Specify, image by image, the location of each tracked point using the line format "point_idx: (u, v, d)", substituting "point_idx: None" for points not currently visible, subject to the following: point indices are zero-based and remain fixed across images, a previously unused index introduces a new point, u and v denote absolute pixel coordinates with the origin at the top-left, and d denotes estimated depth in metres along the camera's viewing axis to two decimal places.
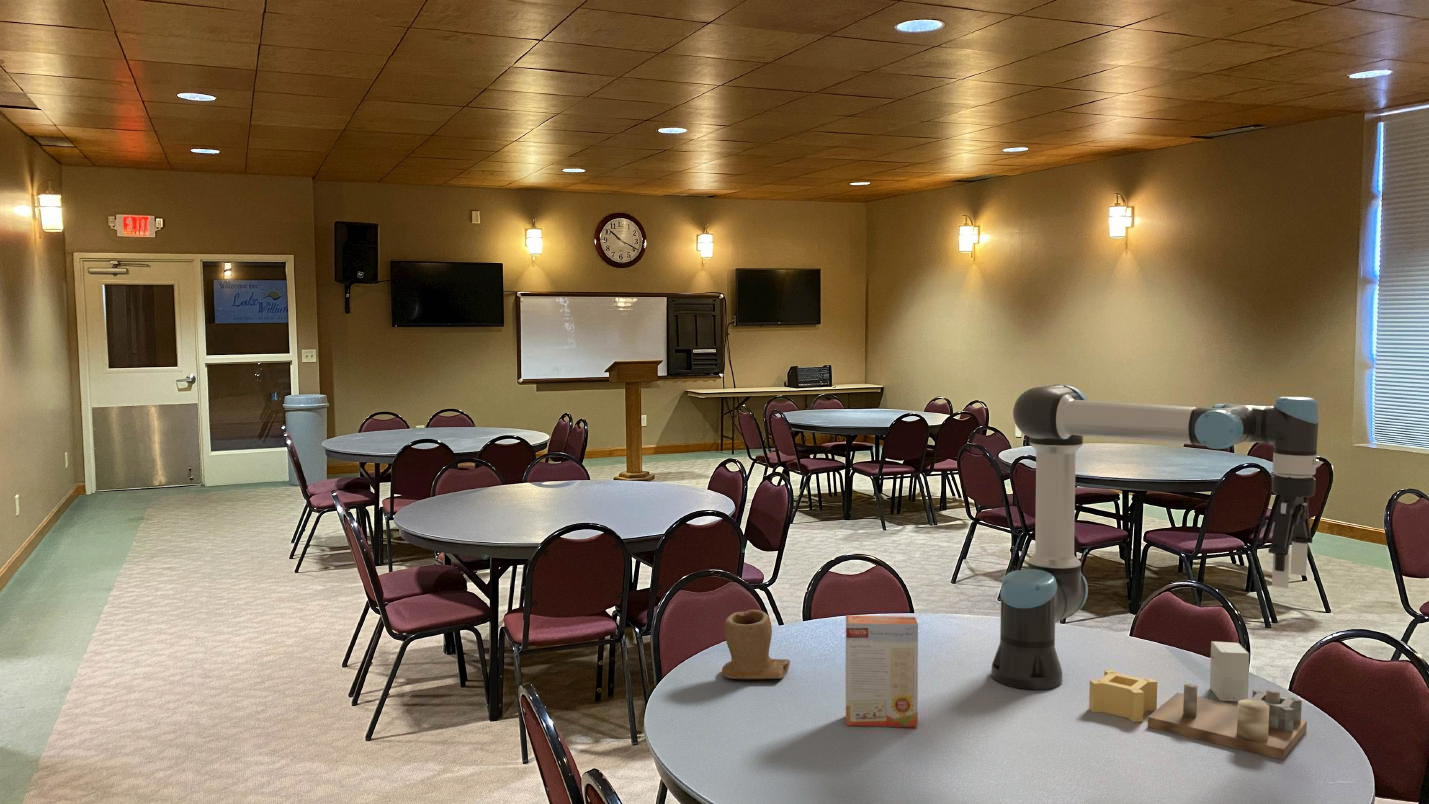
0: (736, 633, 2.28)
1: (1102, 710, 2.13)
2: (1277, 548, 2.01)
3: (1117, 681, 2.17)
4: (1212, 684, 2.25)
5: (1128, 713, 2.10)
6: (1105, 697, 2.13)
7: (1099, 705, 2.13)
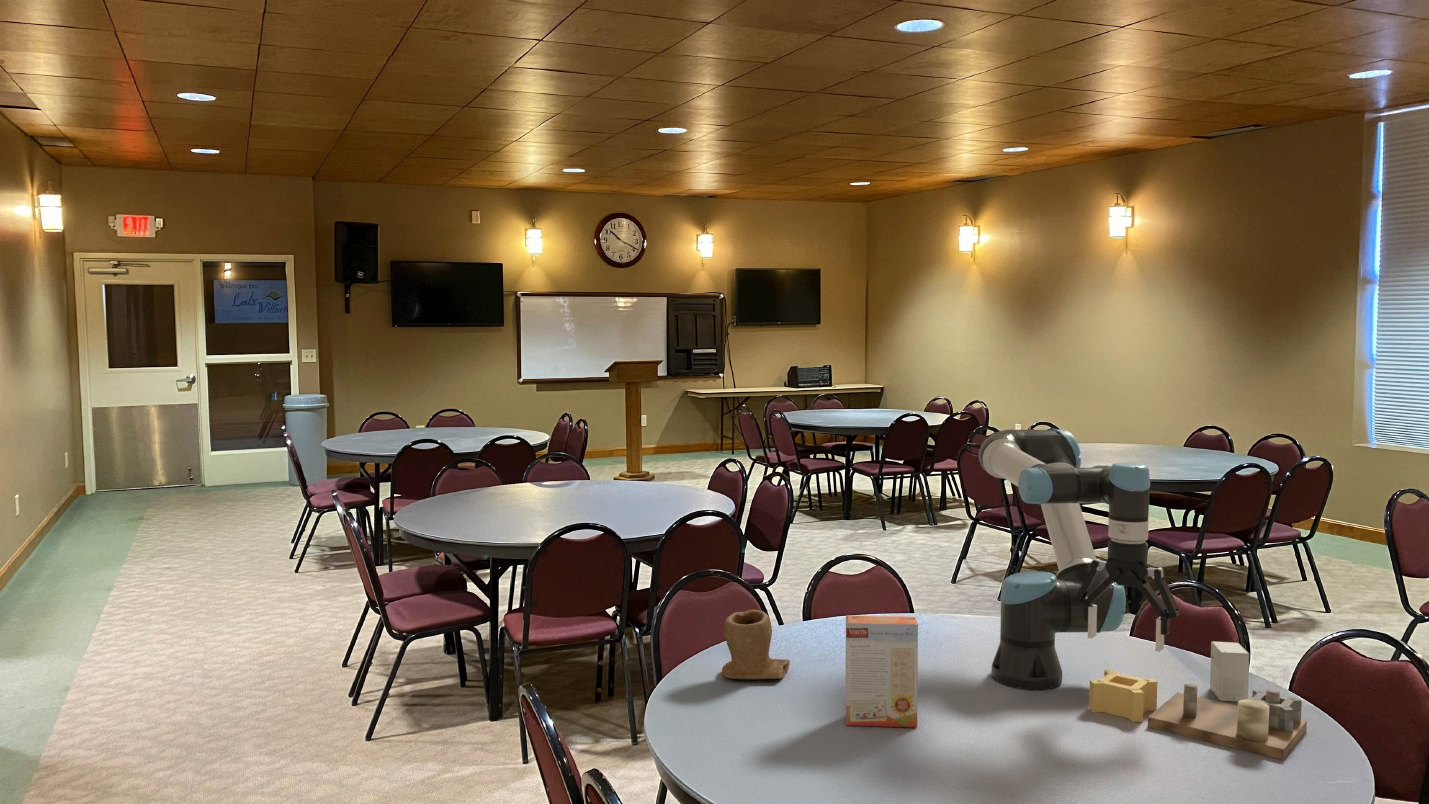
0: (736, 633, 2.28)
1: (1102, 710, 2.13)
2: None
3: (1117, 681, 2.17)
4: (1212, 684, 2.25)
5: (1128, 713, 2.10)
6: (1105, 697, 2.13)
7: (1099, 705, 2.13)
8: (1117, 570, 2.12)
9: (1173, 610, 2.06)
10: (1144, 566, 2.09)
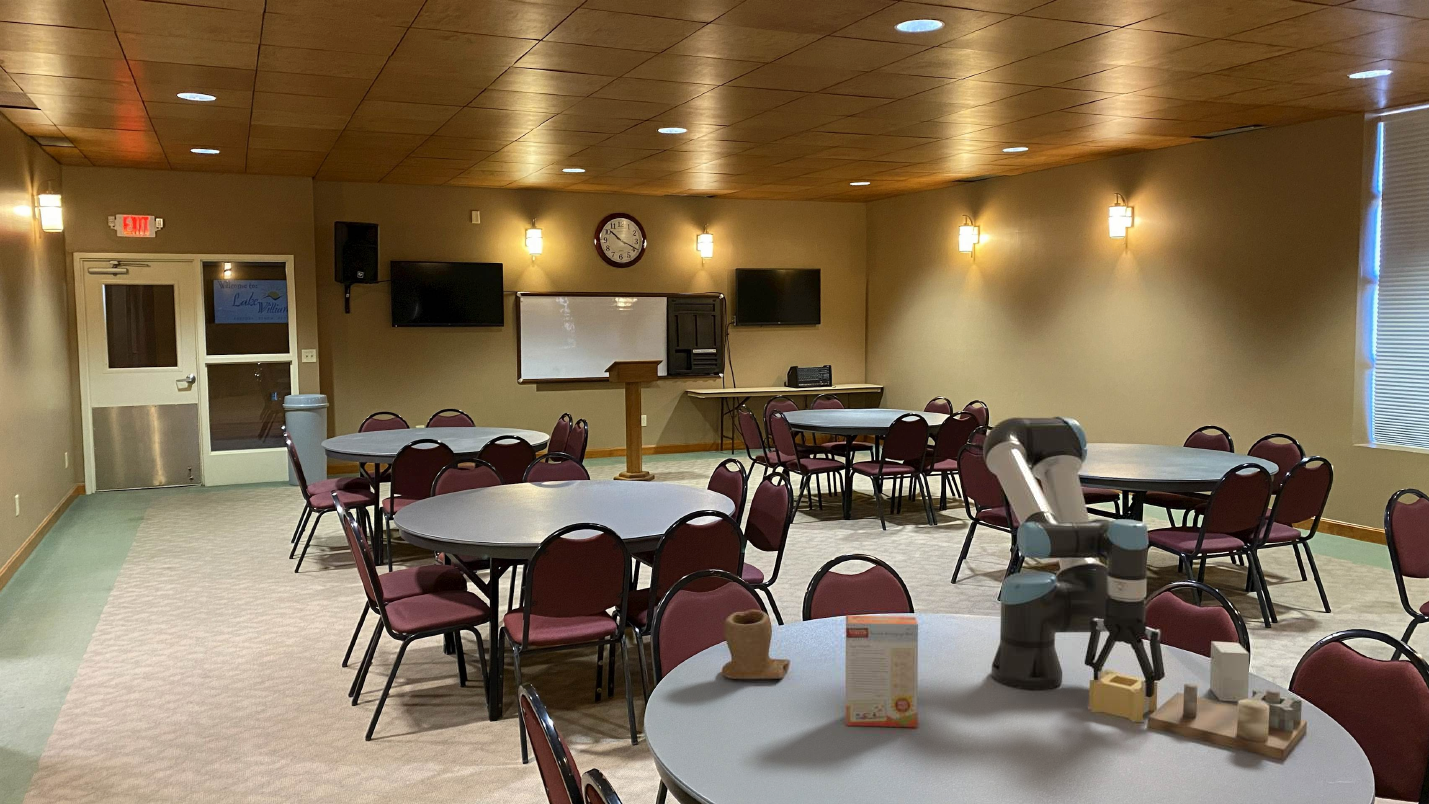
0: (736, 633, 2.28)
1: (1102, 710, 2.13)
2: None
3: (1117, 681, 2.17)
4: (1212, 684, 2.25)
5: (1128, 713, 2.10)
6: (1105, 697, 2.13)
7: (1099, 705, 2.13)
8: (1115, 627, 2.13)
9: (1159, 674, 2.08)
10: (1142, 623, 2.10)
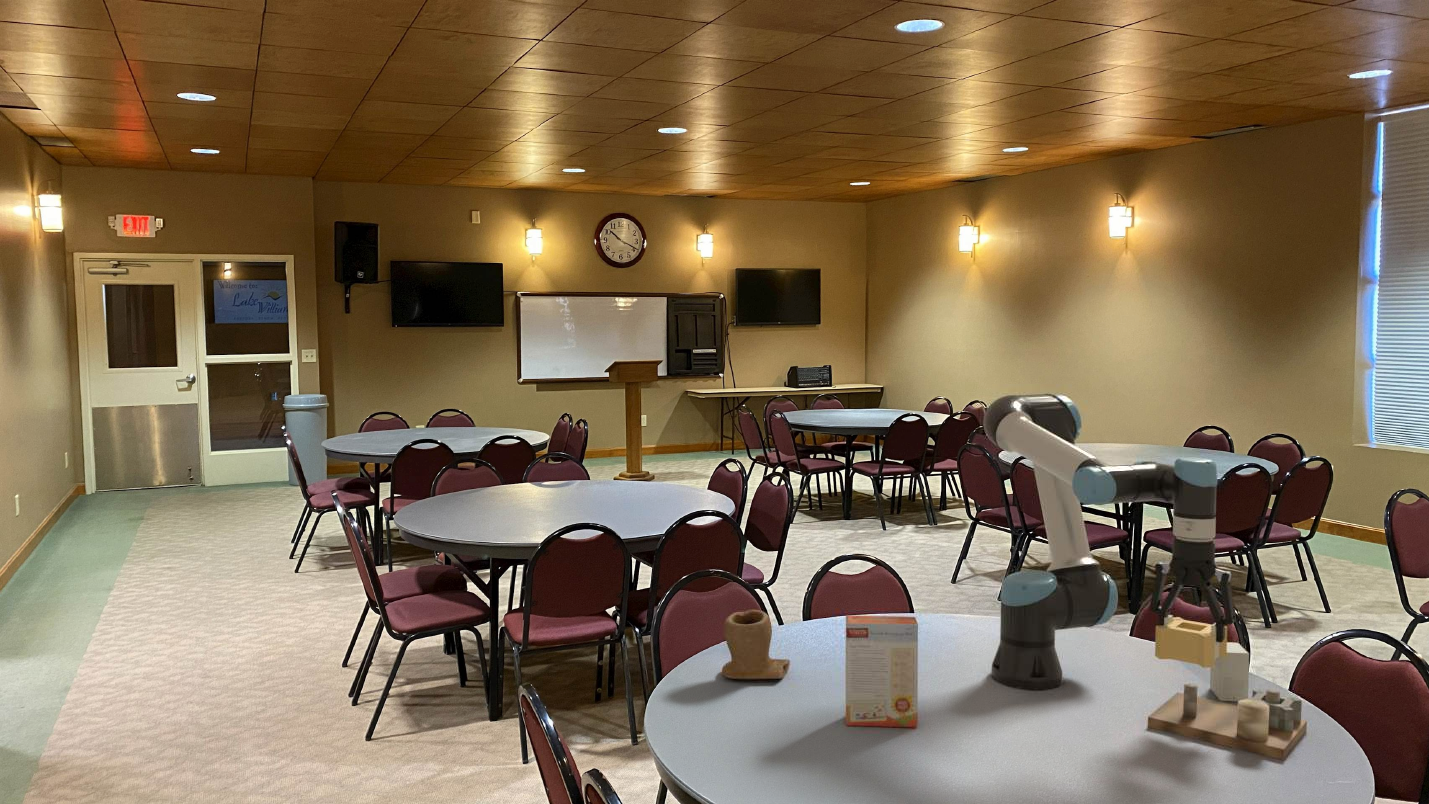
0: (736, 633, 2.28)
1: (1169, 657, 2.04)
2: None
3: (1184, 628, 2.08)
4: (1212, 684, 2.25)
5: (1198, 659, 2.00)
6: (1173, 643, 2.03)
7: (1166, 652, 2.04)
8: (1182, 569, 2.03)
9: (1230, 617, 1.99)
10: (1212, 565, 2.01)
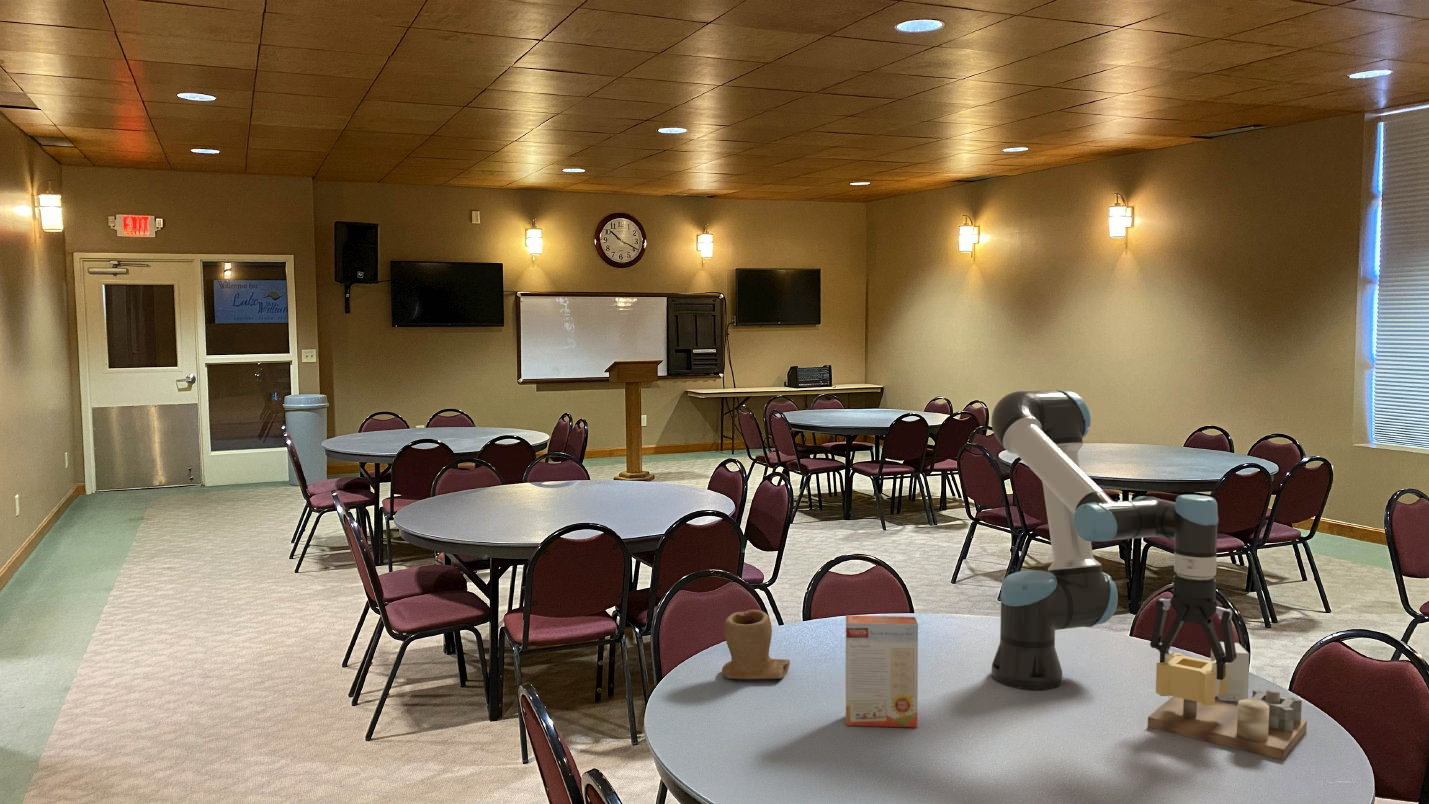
0: (736, 633, 2.28)
1: (1170, 694, 2.04)
2: None
3: (1184, 664, 2.08)
4: None
5: (1198, 696, 2.01)
6: (1173, 680, 2.04)
7: (1167, 689, 2.04)
8: (1183, 606, 2.04)
9: (1231, 655, 1.99)
10: (1212, 603, 2.01)
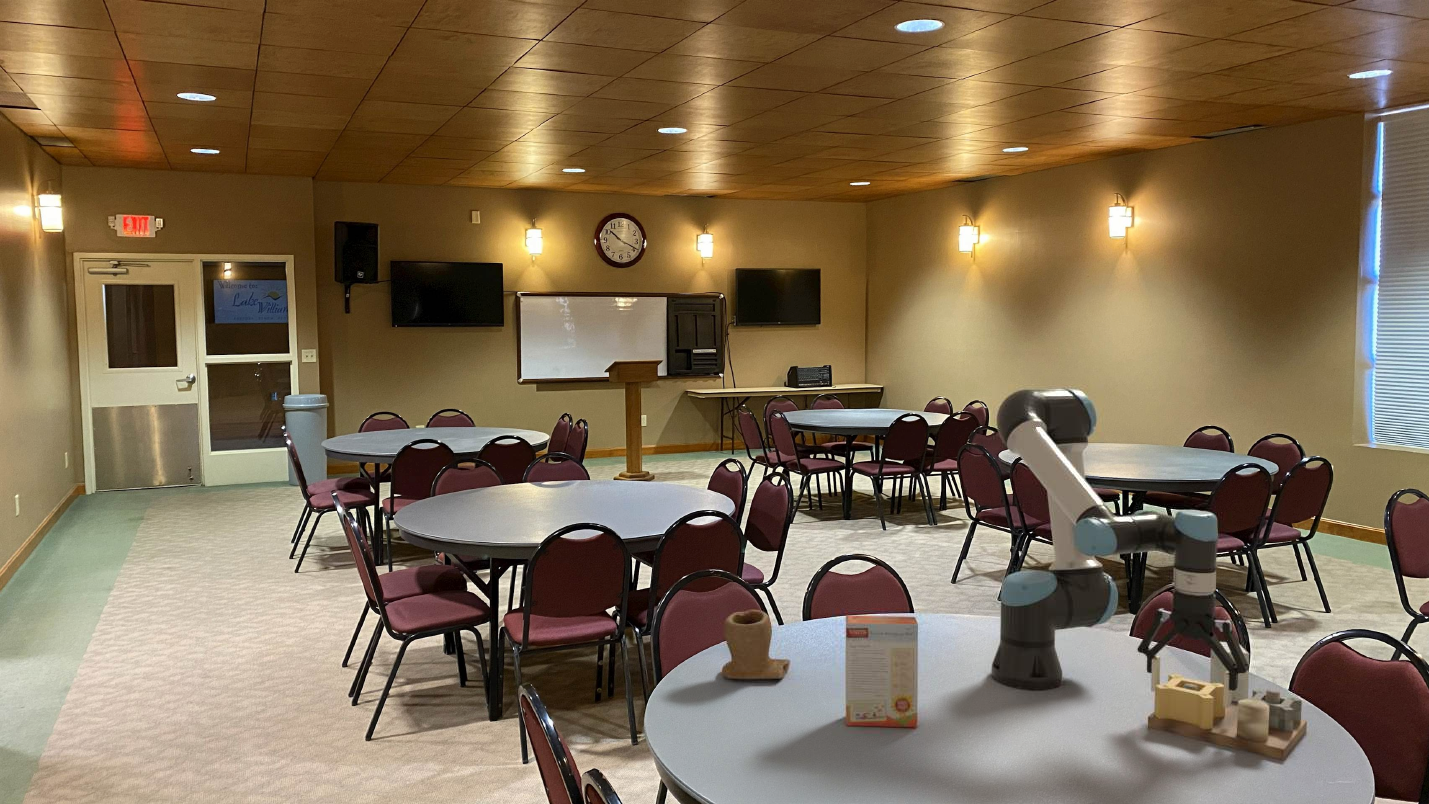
0: (736, 633, 2.28)
1: (1168, 716, 2.05)
2: None
3: (1183, 686, 2.09)
4: None
5: (1197, 719, 2.01)
6: (1172, 703, 2.04)
7: (1165, 711, 2.05)
8: (1183, 622, 2.04)
9: (1242, 665, 1.98)
10: (1212, 618, 2.01)
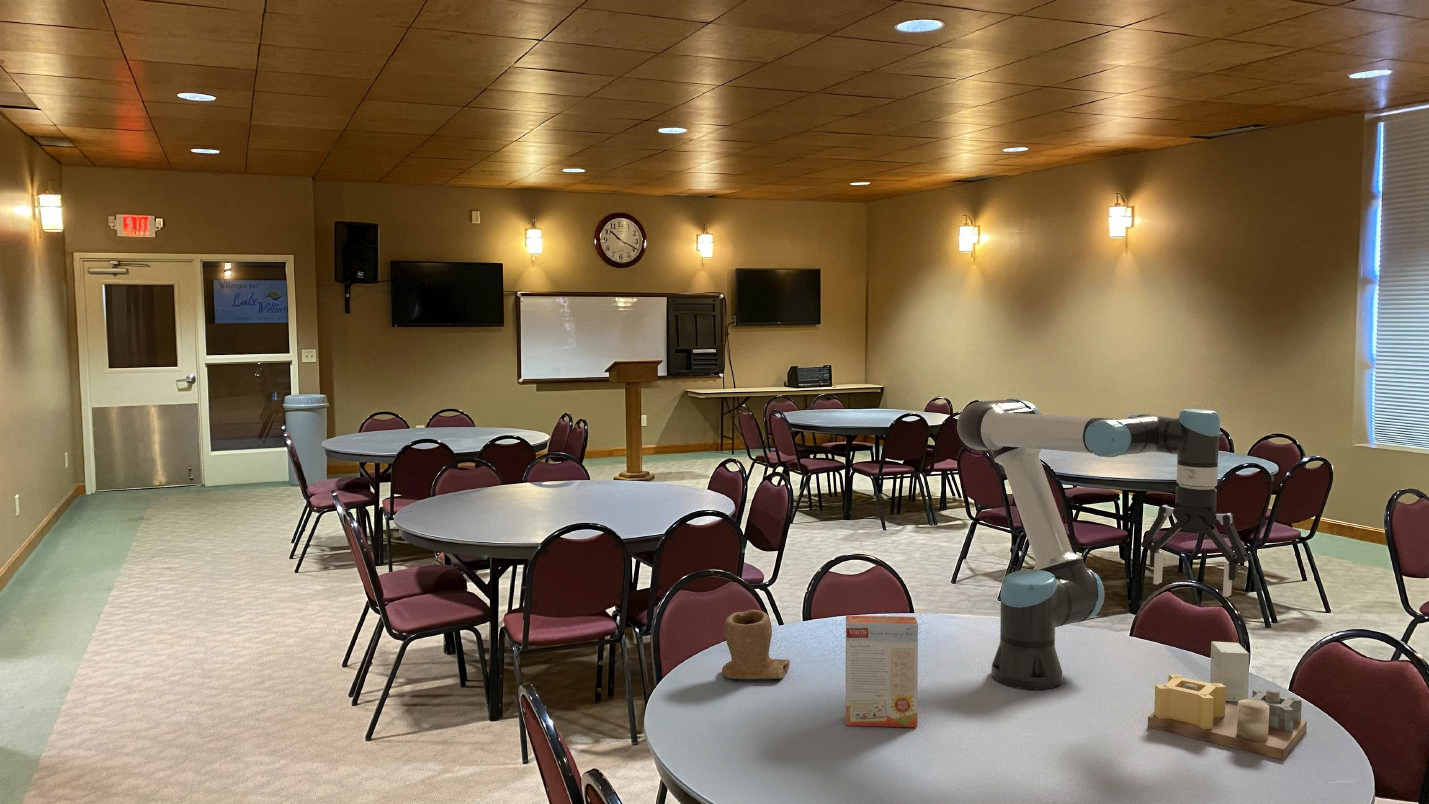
0: (736, 633, 2.28)
1: (1168, 716, 2.05)
2: None
3: (1183, 686, 2.09)
4: None
5: (1197, 719, 2.01)
6: (1172, 703, 2.04)
7: (1165, 711, 2.05)
8: (1185, 516, 2.12)
9: (1242, 555, 2.06)
10: (1213, 512, 2.09)
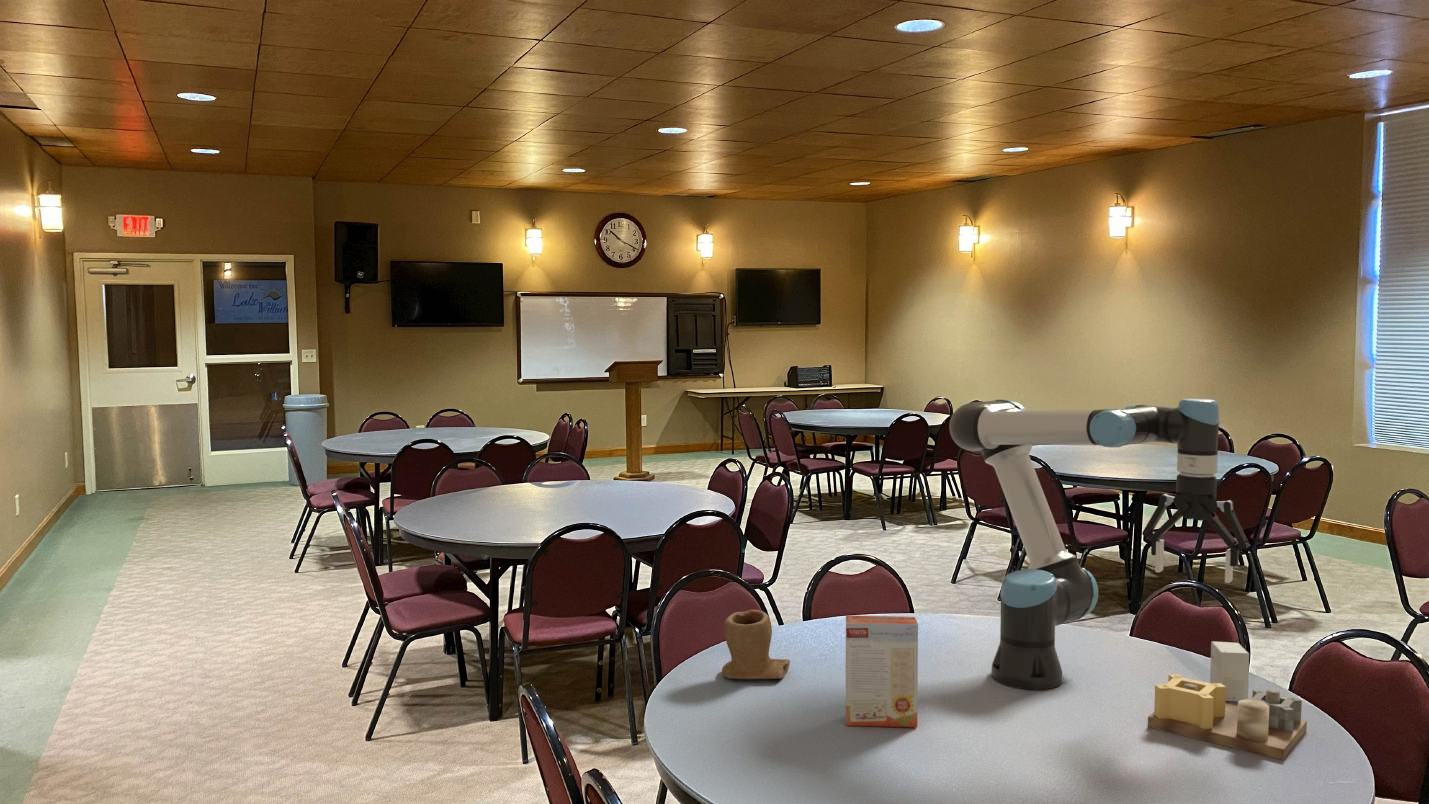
0: (736, 633, 2.28)
1: (1168, 716, 2.05)
2: None
3: (1183, 686, 2.09)
4: None
5: (1197, 719, 2.01)
6: (1172, 703, 2.04)
7: (1165, 711, 2.05)
8: (1186, 504, 2.15)
9: (1243, 541, 2.09)
10: (1213, 499, 2.12)
